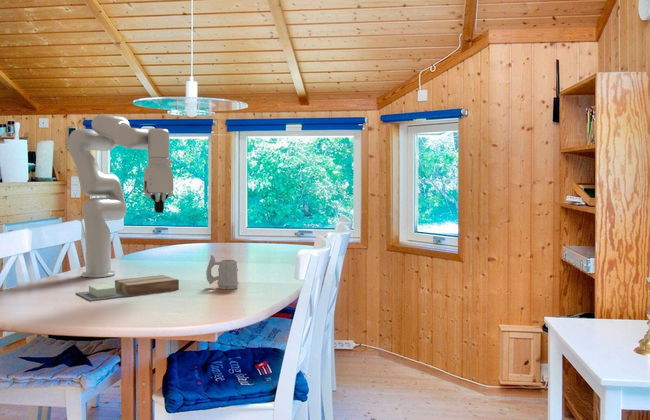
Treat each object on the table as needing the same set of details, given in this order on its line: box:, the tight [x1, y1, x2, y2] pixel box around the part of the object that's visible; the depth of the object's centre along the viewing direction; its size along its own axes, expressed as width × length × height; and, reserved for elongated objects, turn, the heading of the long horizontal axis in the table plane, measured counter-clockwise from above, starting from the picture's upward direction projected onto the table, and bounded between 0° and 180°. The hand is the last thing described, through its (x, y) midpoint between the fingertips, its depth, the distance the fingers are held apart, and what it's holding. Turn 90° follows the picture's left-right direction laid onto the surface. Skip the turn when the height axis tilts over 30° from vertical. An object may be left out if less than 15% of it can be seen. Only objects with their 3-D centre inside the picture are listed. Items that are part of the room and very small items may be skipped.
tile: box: [88, 283, 116, 297], centre depth 190 cm, size 9×6×2 cm, turn 40°
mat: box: [75, 289, 134, 302], centre depth 190 cm, size 15×14×1 cm
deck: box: [114, 274, 180, 296], centre depth 200 cm, size 13×18×4 cm
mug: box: [205, 254, 240, 290], centre depth 205 cm, size 8×12×12 cm, turn 91°
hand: (159, 212), depth 207 cm, fingers closed
